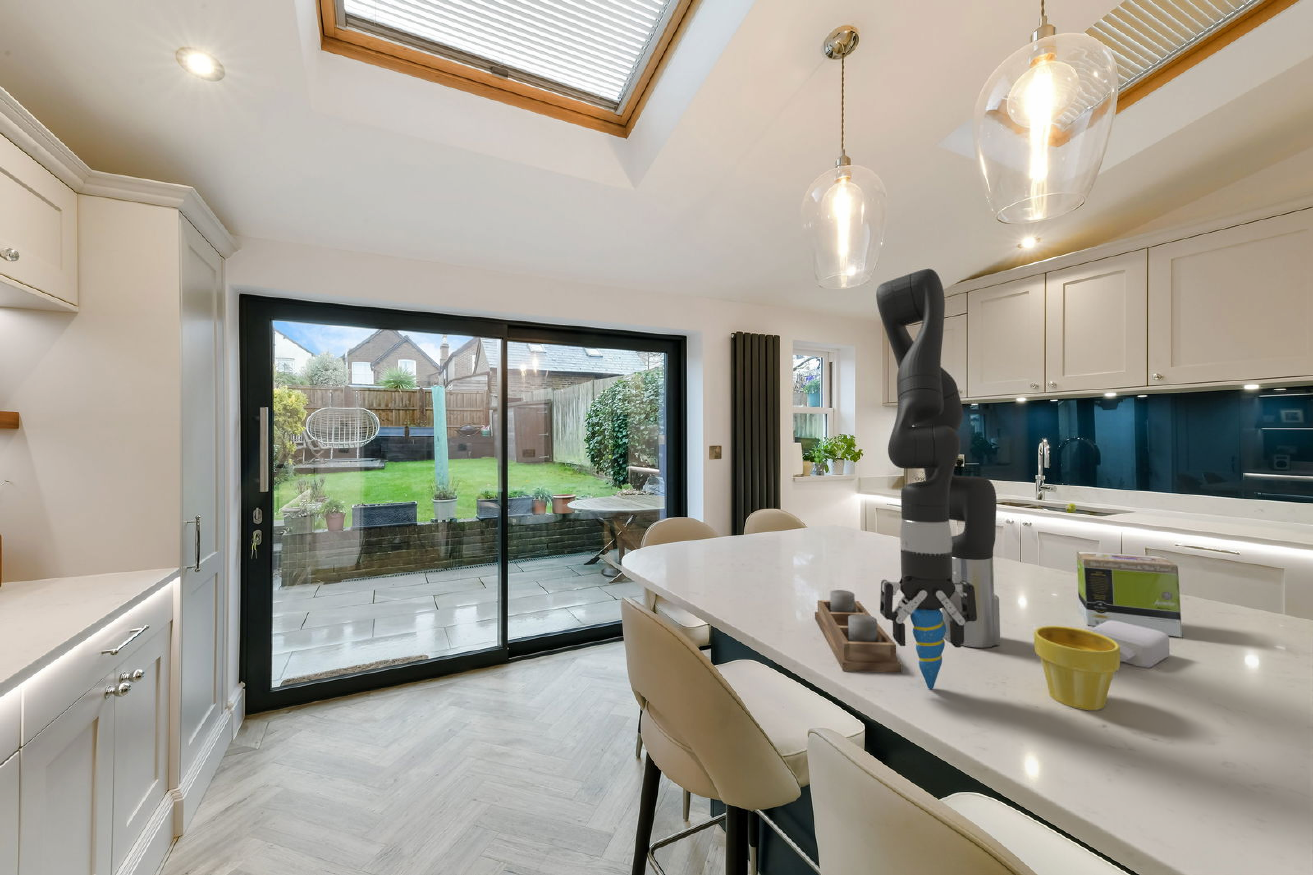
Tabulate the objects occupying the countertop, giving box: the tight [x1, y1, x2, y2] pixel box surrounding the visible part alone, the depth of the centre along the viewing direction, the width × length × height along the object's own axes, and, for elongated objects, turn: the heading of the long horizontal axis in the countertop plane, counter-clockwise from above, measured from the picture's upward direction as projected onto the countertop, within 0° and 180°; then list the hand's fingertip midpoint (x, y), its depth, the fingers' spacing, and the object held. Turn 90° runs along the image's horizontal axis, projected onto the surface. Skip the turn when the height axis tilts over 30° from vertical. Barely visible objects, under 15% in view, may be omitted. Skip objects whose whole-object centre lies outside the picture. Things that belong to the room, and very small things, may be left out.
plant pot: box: [1033, 625, 1121, 711], centre depth 80 cm, size 10×10×10 cm
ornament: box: [909, 608, 946, 690], centre depth 84 cm, size 5×5×15 cm
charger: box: [1086, 620, 1171, 669], centre depth 94 cm, size 5×9×15 cm
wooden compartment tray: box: [814, 589, 903, 674], centre depth 104 cm, size 10×27×8 cm, turn 173°
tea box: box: [1076, 550, 1183, 638], centre depth 110 cm, size 15×10×15 cm, turn 58°
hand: (928, 645), depth 84 cm, fingers open, 8 cm apart
